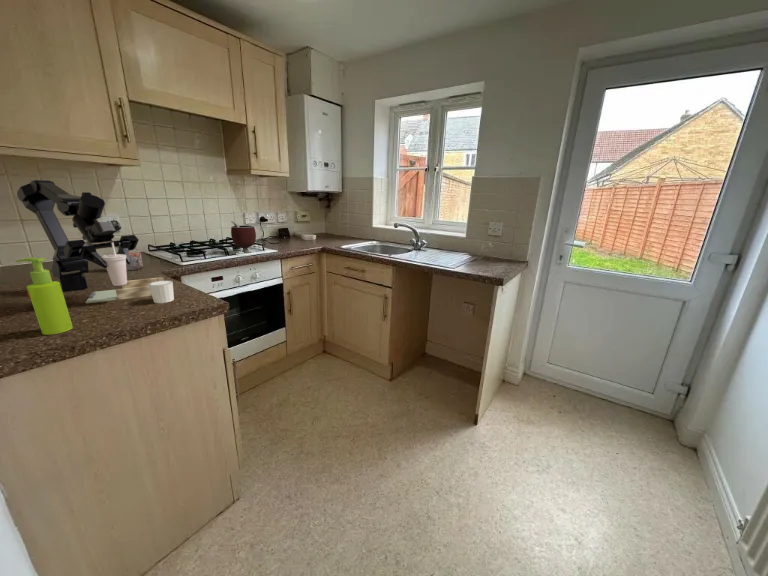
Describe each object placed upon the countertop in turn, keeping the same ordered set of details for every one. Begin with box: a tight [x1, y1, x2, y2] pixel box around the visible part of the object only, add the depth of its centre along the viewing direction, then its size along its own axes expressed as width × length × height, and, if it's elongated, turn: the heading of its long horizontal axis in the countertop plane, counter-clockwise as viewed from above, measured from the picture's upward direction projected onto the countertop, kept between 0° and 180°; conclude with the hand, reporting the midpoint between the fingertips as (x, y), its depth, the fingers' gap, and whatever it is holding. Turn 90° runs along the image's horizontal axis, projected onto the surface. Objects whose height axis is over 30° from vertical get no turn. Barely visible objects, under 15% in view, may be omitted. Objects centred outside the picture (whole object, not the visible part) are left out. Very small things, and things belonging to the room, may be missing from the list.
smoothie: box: [100, 243, 128, 287], centre depth 101 cm, size 6×6×14 cm
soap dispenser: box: [15, 257, 74, 336], centre depth 81 cm, size 6×7×20 cm
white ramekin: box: [148, 279, 175, 304], centre depth 106 cm, size 7×7×7 cm
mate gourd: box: [230, 220, 257, 253], centre depth 191 cm, size 16×14×20 cm
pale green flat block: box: [85, 288, 118, 304], centre depth 109 cm, size 8×13×2 cm, turn 32°
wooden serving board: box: [116, 276, 165, 300], centre depth 115 cm, size 13×13×4 cm
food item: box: [105, 251, 144, 272], centre depth 148 cm, size 14×8×10 cm, turn 119°
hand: (118, 265), depth 101 cm, fingers closed on smoothie, 6 cm apart
